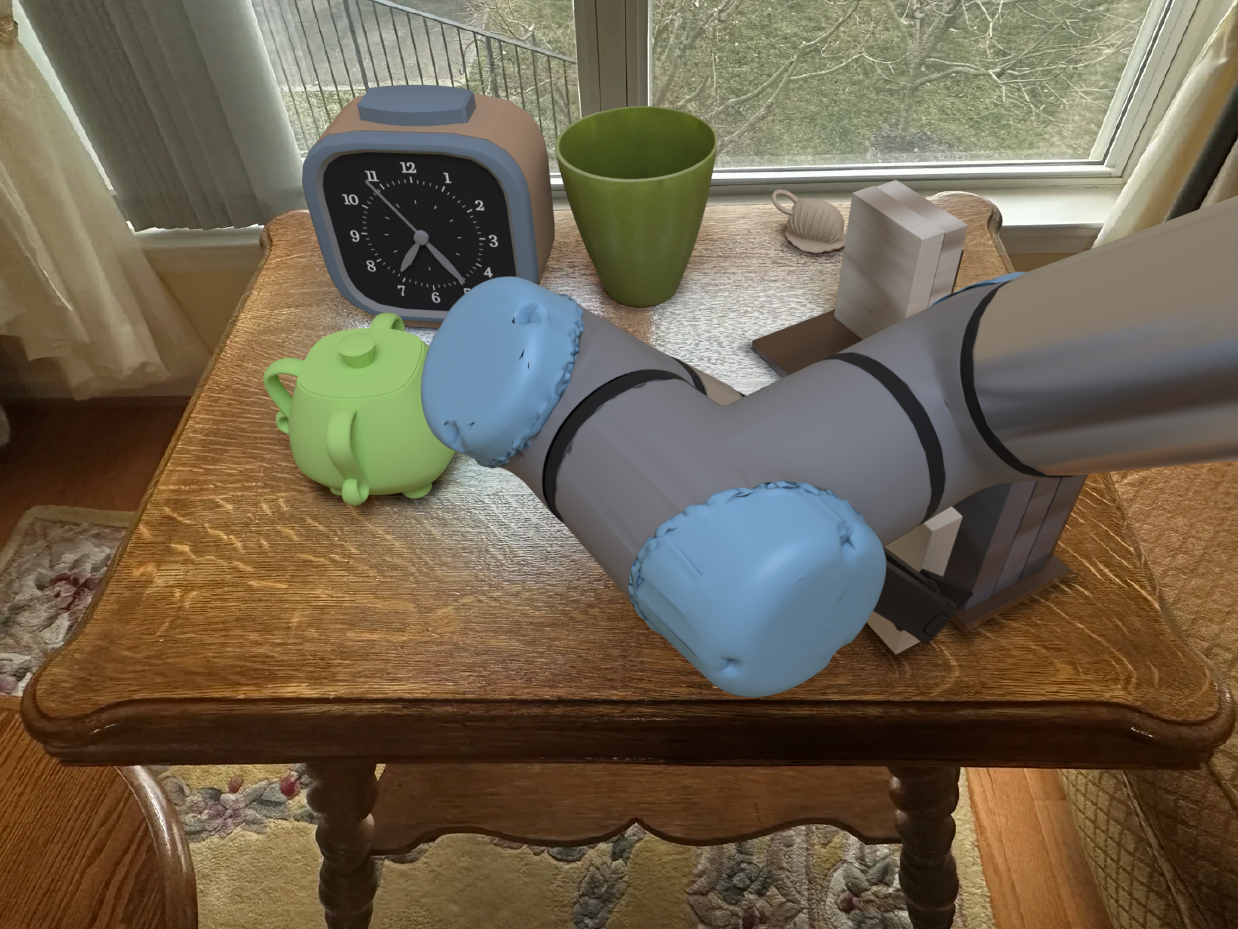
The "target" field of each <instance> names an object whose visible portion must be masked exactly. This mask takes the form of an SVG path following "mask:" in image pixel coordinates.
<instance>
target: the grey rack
mask: <svg viewBox="0 0 1238 929" xmlns="http://www.w3.org/2000/svg"><path fill="white" fill-rule="evenodd" d="M1089 475H1090V474H1084V475H1075V476H1073V477H1066V478H1057V479H1047V480H1037V481H1026V482H1014V483H1003V484H998V485H994V486H990V487H987V488H985V489H982V490H980V491H977V492H975V493H973V494H972V495H970V496H968V497H967V498H965V499H963V500H962V501H960V502H958V503H957V504H955V505H953V506H952V507H953V508H954V509H955V510H956V511H957V512H958V513H959V514H961V515H962V520H961V523H960V526H959V529H958V532H957V535H956V538H955V541H954V544H953V547H952V551H951V554H950V557H949V560H948V563H947V566H946V569H945V572H944V575H943V577H945V578H948V579H950V580H953V581H955V582H958V583H960V584H963V585H965V586H966V587H967V588H969V589H970V590H971V591H972V592H973V593H974V594H973V595H972V596H971V597H970V599H969V600H968V601H967V602H966V603H965V604H964V605H963V606H962V607H961V608H960V609H959V610H958V612H959V613H958V614H957V615H956V616H955V617H954V618H953V619H952V620H951V621H950V622H951V623H952V624H953V625H954V626H955V627H956V628H957V629H958V630H959V631H960V632H961V633H962V634H966V633H968V632H970V631H972V630H973V629H975V628H977V627H979V626H981V625H983V624H984V623H986V622H988V621H990V620H992V619H993V618H996V617H997V616H999V615H1001V614H1003V613H1005V612H1007V611H1009V610H1010V609H1012V608H1014V607H1016V606H1017V605H1020V604H1021V603H1023V602H1025V601H1027V600H1028V599H1030V598H1032V597H1034V596H1035V595H1036V596H1037V595H1038V594H1040V593H1041V592H1044V591H1045V590H1047V589H1049V588H1051V587H1053V586H1055V585H1056V584H1058V583H1061V582H1062V581H1063V580H1066V579H1067V578H1068V577H1069V575H1070V572H1071V570H1072V569H1071V568H1070V567H1069V566H1068V565H1067V564H1066V563H1064V562H1063V561H1062V560H1061V559H1060V558H1059V557H1057V556H1056V555H1055V554H1054V552H1055V551H1056V549H1057V545H1058V544H1059V542H1060V539H1061V537H1062V535H1063V533H1064V530H1065V528H1066V526H1067V524H1068V521H1069V519H1070V517H1071V515H1072V513H1073V510H1074V508H1075V505H1076V504H1077V502H1078V500H1079V497H1080V494H1081V492H1082V491H1083V487H1084V485H1085V483H1086V482H1087V479H1088V477H1089Z"/></svg>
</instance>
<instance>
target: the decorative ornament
mask: <svg viewBox="0 0 1238 929" xmlns="http://www.w3.org/2000/svg"><path fill="white" fill-rule="evenodd" d="M779 195H781V196H785V197H787V198H788V199H789V200H790V201H792V203H793V205H792V207H791V209H790V208H787V207H785V206H783V205H782V204H780V202H779V201H778V199H777V196H779ZM770 198H771V202H772V204H773V206H774V207H775V208H776V209H777V210H778V211H779V212H780V213H782V214H784V215H787V216H788V220H787V222H786V225H787V228H786V229H785V233H784V235H785V236H784V237H786V238H787V241H788V242H790V243H791V244H792V245H793V247H796V248H797V249H799V250H800V251H801V252H804V253H811V254H822V253H824V252H826V253H830V252H832V251H834V250H840V249H841V248H844V246H845V240H846V235H845V234H844V229H845V220H844V217H843V214H842V213H841V211H840V210H839V209H838V208H837V207H836V206H834V205H833V204H832V203H830V202H827V201H824V200H821V199H818V198H812V197H811V198H810V197H805V198H802V199H799V198H798V197H797V196H796V195H795V194H794V193H793V192H791V191H789V190H785V189H776V190H774V191H773V192H772V194H771V197H770Z"/></svg>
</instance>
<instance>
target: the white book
mask: <svg viewBox="0 0 1238 929" xmlns="http://www.w3.org/2000/svg"><path fill="white" fill-rule="evenodd" d="M961 520H962V515H961V514H959V513H958V512H957V511H956V510H955V509H954V508H953V507H952V506H951V507H950V508H948V509H946V510H945V511H943V512H941V513H940V514H938V515H936V516H935V517H933V518H931V519H929V520H928V521H926V522H925V523H923V524H922V525H919V526H917V527H916V528H915V529H913V530H912V531H910V532H909V533H907V534H905V535H904V536H902V537H900V538H899V539H897V540H895V541H894V542H892V543H890V544H889V545H887V546H885V547H886V548H887V549H888V550H890V551H891V552H892V553H894V554H895V555H896V556H898V557H899V558H900V559H902V560H903V561H904V562H906V563H907V564H908V565H910V566H911V567H912V568H914V569H915V570H917V571H918V572H920V570H921V569H922V568H923V569H925V570H928V571H930V572H933V573H935V574H938V575H940V576H943V575H944V572H945V569H946V566H947V563H948V560H949V557H950V554H951V551H952V547H953V544H954V541H955V538H956V535H957V532H958V529H959V526H960V523H961ZM866 624H867V625H868V626H869V627H870V628H871V629H872V630H873V631H874V633H875V634H876V635H877V636H878V637H879V638H880V639H881V641H883V643H884V644H885V645H886V646H887V647H888V648H889V649H890V650H891V651H892V652H893V653H894V655H898V654H899V653H902V652H903V651H905V650H907V649H909V648H910V647H913V646H914V645H916V644H918V643H920V642H921V641H919V640H918V639H917V638H916V637H914V636H913V635H911V634H909V633H908V632H906V631H905V630H903V631H902V632H900V631H898V630H897V629H896V627H895V626H894V624H893V623H892V622H890V621H889V620H887V619H885V618H884V617H882V616H881V615H879V614H877V613H876V612H874V611H873V612H872V613H871V615H870V617H869V619H868V620H867V622H866Z"/></svg>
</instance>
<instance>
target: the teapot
mask: <svg viewBox="0 0 1238 929" xmlns="http://www.w3.org/2000/svg"><path fill="white" fill-rule="evenodd" d="M429 346H430V345H429V344H427V343H426V342H425V341H424V340H423V339H422V338H420V337H419V336H418V335H415V334H413V333H410V332H408V331H406V326H404V323H403V320H402V319H401V317H400V316H398V315H397V314H393V313H381V314H379V315H375V316H374V318H373V319H372V321H371V323H370V326H369V327H360V328H351V329H344V330H339V331H336V332H332V333H329V334H327V335H325V336H323V337H322V338H320V339H319V340H318V341H317V342H316V343H315V344H314V345H313V346H312V347H311V349H310V350H309V351H308V352H307V354H306V357H305V358H304V359H300V358H298V357H297V358H296V357H282V358H278V359H277V360H275V361H273V362H272V363H270V364H269V366H268V367H267V368H266V369H265V371H264V374H263V379H262V382H263V386H264V389H265V391H266V393H267V395H268V396H269V398H270V399H271V400H272V402H273V403H274V404H275V405H276V407H278V409H279V410H278V411H277V413H276V414H275V426H276V427H277V429H278V430H279V431H280V432H281V433H284V434H285V435H288V438H289V446H290V451H291V455H292V458H293V460H294V463H295V466H296V467H297V468H298V469H299V470H300V472H301V473H302V474H303V475H305V476H306V477H307V478H309V479H310V480H312V481H314V482H316V483H318V484H320V485H322V486H324V487H326V488H327V487H328V488H329V491H330V492H331V493H332V494H333V495H336V496H341V497H342V500H343V502H344V503H345V504H347V505H350V506H352V507H353V506H354V507H357V506H360V505H362V504H363V503H365V502H366V500H367V499H368V497H369V496H383V495H384V496H385V495H394V494H400V493H401V494H402V495H403V496H405V497H406V498H409V499H419V498H422V497H424V496H426V495H427V494H429V492H431V490H432V487H433V482H434V481H436V480H437V479H438V478H439V477H440V476H441V475H442V474H443V473H444V471H445V470H446V469H447V467H448V466H449V464H450V462H451V461H452V459H453V458H454V455H455V453H456V451H454V450H452V449H450V448H448V447H446V446H445V445H444V444H442V443H441V442H440V441H439V440H438V439H437V438H436V437H435V436H434V434H433V433H432V431H431V430H430V428H429V426H428V424H427V422H426V419H425V416H424V412H423V408H422V403H421V379H422V371H423V366H424V362H425V358H426V354H427V351H428V349H429ZM279 375H287V376H294V377H297V378H296V380H295V384H294V388H293V393H292V395H291V394H290V392H289V391H288V390H287V389H286V387H285V386H284V384H283V383H282V381H281V380H280V377H279Z"/></svg>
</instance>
